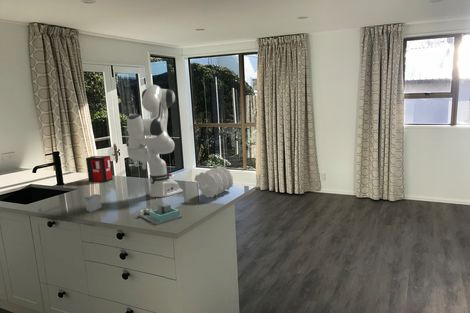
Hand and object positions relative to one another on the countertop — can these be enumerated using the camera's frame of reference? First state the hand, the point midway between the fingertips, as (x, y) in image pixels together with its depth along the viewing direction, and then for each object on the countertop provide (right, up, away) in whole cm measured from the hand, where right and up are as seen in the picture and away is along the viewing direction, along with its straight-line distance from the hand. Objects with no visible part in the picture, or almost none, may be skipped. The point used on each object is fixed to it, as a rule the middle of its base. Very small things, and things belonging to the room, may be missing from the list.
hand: (140, 167), depth 205 cm
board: (+12, -27, -6) cm, 30 cm away
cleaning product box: (-57, -14, +94) cm, 111 cm away
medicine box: (-32, -26, +15) cm, 44 cm away
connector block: (+16, -26, -8) cm, 32 cm away
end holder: (+16, -27, -8) cm, 32 cm away
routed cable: (+7, -26, -3) cm, 27 cm away
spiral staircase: (+41, -19, +33) cm, 56 cm away
